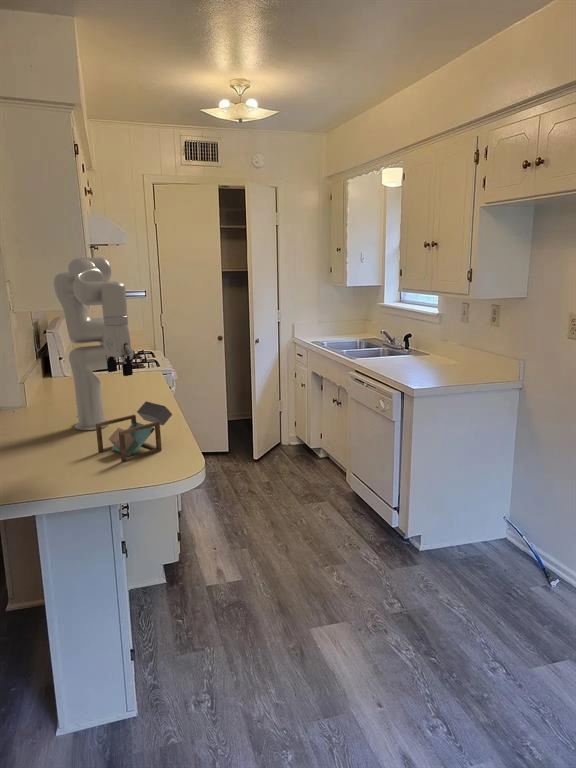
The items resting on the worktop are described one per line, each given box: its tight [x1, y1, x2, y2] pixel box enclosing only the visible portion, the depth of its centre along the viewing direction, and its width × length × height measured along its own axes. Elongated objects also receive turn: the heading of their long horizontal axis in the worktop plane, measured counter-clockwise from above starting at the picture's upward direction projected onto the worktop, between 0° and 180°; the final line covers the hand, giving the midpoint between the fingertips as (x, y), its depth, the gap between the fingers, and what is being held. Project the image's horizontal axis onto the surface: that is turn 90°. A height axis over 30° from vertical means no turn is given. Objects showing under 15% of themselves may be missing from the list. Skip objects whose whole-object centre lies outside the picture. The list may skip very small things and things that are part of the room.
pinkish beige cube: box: [107, 427, 135, 450], centre depth 184 cm, size 5×5×5 cm
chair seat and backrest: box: [111, 400, 173, 457], centre depth 188 cm, size 12×20×4 cm
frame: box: [96, 414, 163, 463], centre depth 185 cm, size 16×14×10 cm
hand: (120, 373), depth 182 cm, fingers open, 9 cm apart
